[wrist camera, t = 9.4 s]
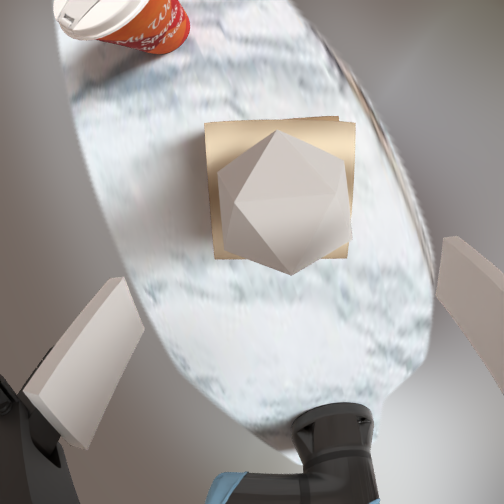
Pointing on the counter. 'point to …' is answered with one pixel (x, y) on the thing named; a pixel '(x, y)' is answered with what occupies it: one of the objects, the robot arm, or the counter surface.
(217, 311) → the counter surface
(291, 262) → the die
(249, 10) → the counter surface
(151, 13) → the paper cup
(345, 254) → the tower top slab
